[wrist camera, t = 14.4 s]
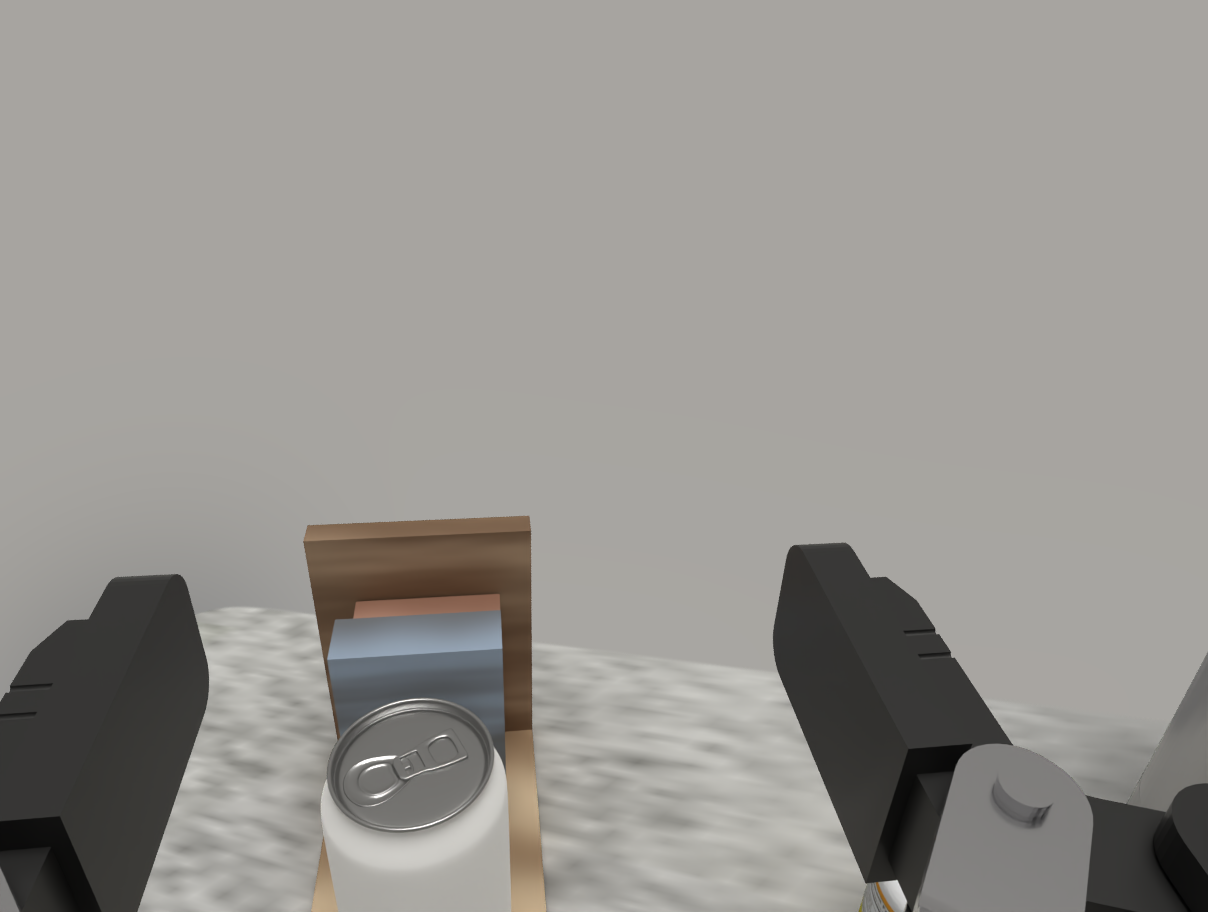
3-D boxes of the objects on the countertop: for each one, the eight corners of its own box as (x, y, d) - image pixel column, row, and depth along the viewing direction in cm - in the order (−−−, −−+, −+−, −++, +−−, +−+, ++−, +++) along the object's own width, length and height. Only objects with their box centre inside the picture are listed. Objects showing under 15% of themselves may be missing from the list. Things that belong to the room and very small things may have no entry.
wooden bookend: (556, 1069, 34) (561, 831, 26) (289, 1103, 33) (215, 863, 25) (530, 726, 48) (528, 510, 41) (345, 740, 47) (309, 520, 40)
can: (331, 929, 37) (289, 731, 31) (472, 858, 40) (459, 665, 34) (386, 1077, 32) (349, 878, 26) (540, 983, 35) (540, 786, 29)
